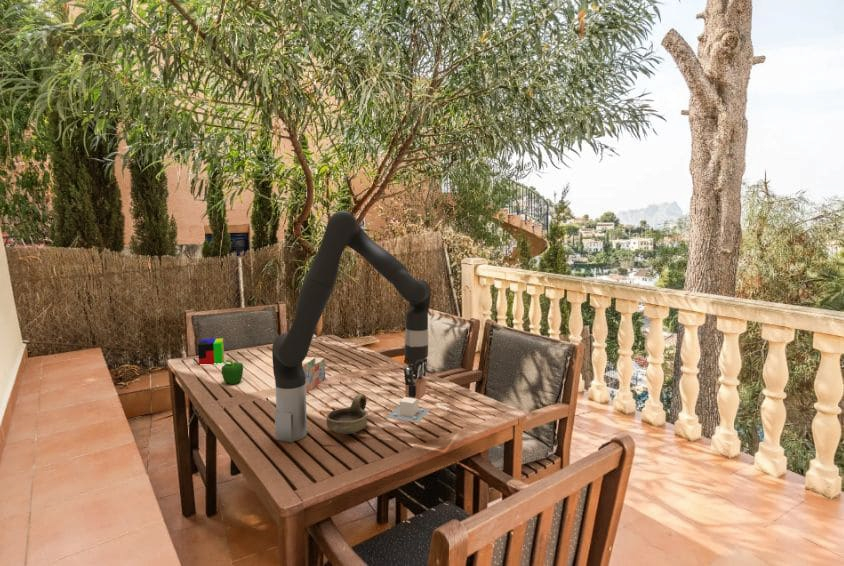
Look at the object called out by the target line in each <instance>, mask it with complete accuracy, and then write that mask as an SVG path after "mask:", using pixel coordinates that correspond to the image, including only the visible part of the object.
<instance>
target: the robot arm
mask: <svg viewBox="0 0 844 566" xmlns="http://www.w3.org/2000/svg"><path fill="white" fill-rule="evenodd" d="M346 246H347V247H348V248H350V249H351V250H353V251H354V252H356V253H358V254H359V255H360V256H361V257H362V258H363V259H364V260H366V261H367V262H368V263H369V264H370V265H371V266H372V268H374V270H376V271H377V272H378V273H379V274H380V275H381V276H382V277H383V278H385V280H386V281H388V282H389V283H390V284H392V286H393V287H394V288H395V290H396V291H397V292H398V293H399V295H400V296H402V298H404V300H405V301H407V302H408V303H409V307H408V310H407V312H406V315H405V333H404V357H405V358H406V359H408V363H407V367H404V369H403V372H404V373H403V374H404V385H405V386H406V385H409V397H415V396H416V381H417V379H418V378H419V379H425V378H424V377H426V375H427V366H428V356H429V332H428V331H429V316H428V315H429V310H430V305H431V297H432V296H431V295H432V294H431V293H432V292H431V291H432V290H431V285H429V283H428V281H426V280H424V279H416V278H414V277H413V276H412V275H411V273H409V269H408V268H407V267H406V265H404V264H403V263H402V262H401V261H400V260H399V259H397V257H395V256H394V255H393V254H392V253H390V252H389V251H387V250H386V249H385V248H383V247H382V246H380V245H379V244H378V243H376V242H375V241H374V240H373V239H372V238H371V237H370V236H369V235H368V234H367V232H366V231H365V230H364V229H363V228H362V227H361V226H360V223H359V222H358V220H357V219H356V217H355V216H354V215H353V214H352V213H351V212H349V211H347V210H338V211H336V212H334V213H333V214H331V216H330V218H329V219H328V222H327V224H326V228H325V230H324V234H323V237H322V239H321V243H320V245H319V248H318V251H317V253H316V255H315V257H314V260H313V262H312V264H311V265H310V268H309V270H308V272H307V275H306V276H305V278H304V280H303V283H302V285H301V287H300V290H299V294H298V298H297V304H296V309H295V310H296V311H295V316H294V320H293V322H292V324H291V327H290V328H289V330H288V332H283V333H280V334H279V335H277V336H276V338H275V339H274V341H273V343H272V347H271V348H272V349H271V350H272V351H271V352H272V372H273V376H274V381H275V404H276V405H275V407H276V409H275V411H274V430H275V431H274V432H275V440H276V441H277V440H278V441H281V442H287V443H293V442H295V441H299V440H301V439H304V438H305V437H306V436H307V435H308V427H307V426H308V421H307V420H308V419H307V417H308V416H307V393H306V378H305V373H304V370H303V366H302V362H303V360H304V359H305V358H306V357H308V356H307V355H308V352H309V350H310V347H311V343H312V340H313V337H314V333H315V331H316V327H318V326H317V325H318V324H319V322H320V319H321V317H322V315H323V313H324V310H325V308H326V306H327V304H328V301H329V300H330V298H331V295H332V292H333V290H334V288H335V285H336V281H337V277H338V273H339V267H340V266H339V265H340V260H341V258H342V255H343V252H344V250H345V248H346ZM413 378H414V379H413Z"/></svg>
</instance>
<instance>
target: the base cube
mask: <svg viewBox="0 0 844 566" xmlns="http://www.w3.org/2000/svg"><path fill="white" fill-rule="evenodd" d="M399 405H400V415H404V416H410V417H413V416H414V415H415V414H416V413H417V412H418V407H419V399H414V398H408V397H405V396H404V397H402V398H401V400H400V401H399Z"/></svg>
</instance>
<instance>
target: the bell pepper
mask: <svg viewBox="0 0 844 566" xmlns="http://www.w3.org/2000/svg"><path fill="white" fill-rule="evenodd" d="M225 362H226V363H225V364H224V365H222V367H221V375H222V379H223V381H224V383H225V382H226V384H230V385H236V383H237V384H239V383H240V382H241V380H242V377H243V373H244V364H243V363H242V362H241V363H239V362H234V361H233V360H231V359H225ZM228 362H229V363H228Z"/></svg>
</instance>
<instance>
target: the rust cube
mask: <svg viewBox="0 0 844 566" xmlns="http://www.w3.org/2000/svg"><path fill="white" fill-rule="evenodd" d="M413 379H414V378H413ZM426 382H427V380H426V379H425V378H424V379H419V378H418V379H417V381H416V396H415V397H409V385H405V388H404V389H405V390H404V391H405V392H404V393H405V396H404V397H408V398H414V399H418V400H422V399H423V397H424V396H425V395H426V393H427V392H426V391H427V390H426V389H427V388H426V387H427V385H426V384H427V383H426Z"/></svg>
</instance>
